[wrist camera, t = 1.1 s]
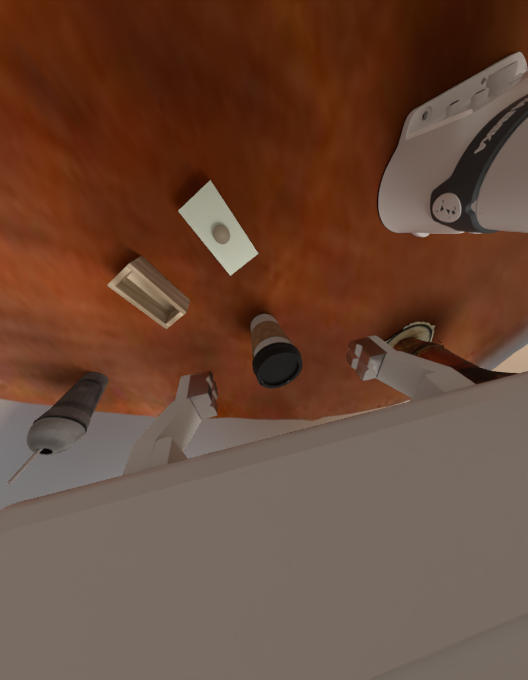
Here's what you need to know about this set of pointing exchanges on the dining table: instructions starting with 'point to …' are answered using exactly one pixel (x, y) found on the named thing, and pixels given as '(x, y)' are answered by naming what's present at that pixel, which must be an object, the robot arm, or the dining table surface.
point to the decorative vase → (438, 352)
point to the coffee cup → (273, 353)
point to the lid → (218, 228)
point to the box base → (150, 292)
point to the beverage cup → (65, 419)
